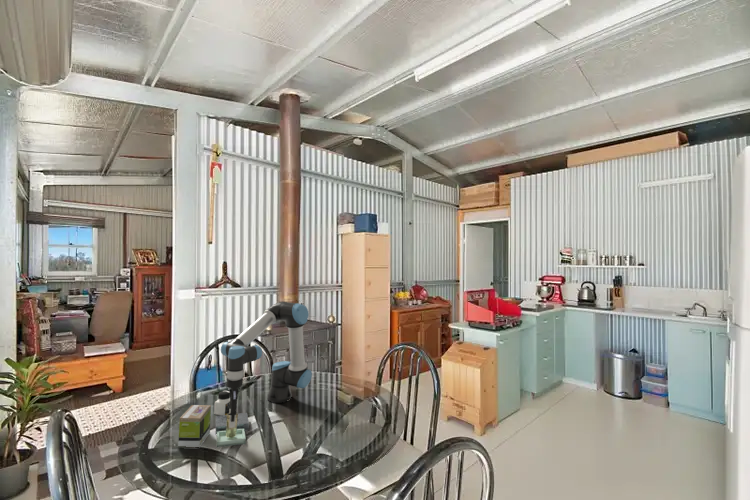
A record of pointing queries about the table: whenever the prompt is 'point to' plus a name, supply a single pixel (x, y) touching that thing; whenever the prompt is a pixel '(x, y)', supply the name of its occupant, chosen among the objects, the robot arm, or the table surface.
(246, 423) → the grey rectangular slab
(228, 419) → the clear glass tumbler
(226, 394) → the medicine bottle
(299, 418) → the table surface
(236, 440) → the parts tray
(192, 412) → the tea box
